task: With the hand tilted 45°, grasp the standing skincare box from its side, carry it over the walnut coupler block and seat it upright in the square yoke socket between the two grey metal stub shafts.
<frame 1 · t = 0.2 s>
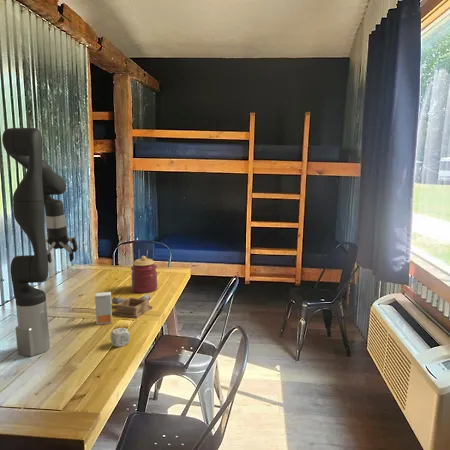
hand: (60, 261, 167), 22 cm above the table, tool pointing down, fingers open, 8 cm apart
coupler block: (132, 311, 170), on the table
skincare box: (104, 322, 158), on the table
die: (120, 344, 139), on the table
canister: (144, 289, 200), on the table
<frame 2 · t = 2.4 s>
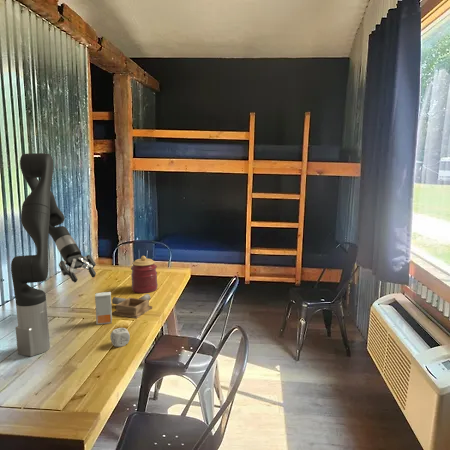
hand: (85, 278, 163), 16 cm above the table, tool tilted 45°, fingers open, 8 cm apart
nothing on the table moved.
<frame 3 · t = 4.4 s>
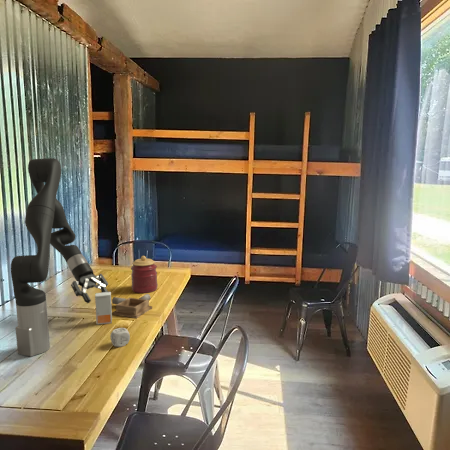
hand: (98, 299, 159), 9 cm above the table, tool tilted 45°, fingers open, 8 cm apart
nothing on the table moved.
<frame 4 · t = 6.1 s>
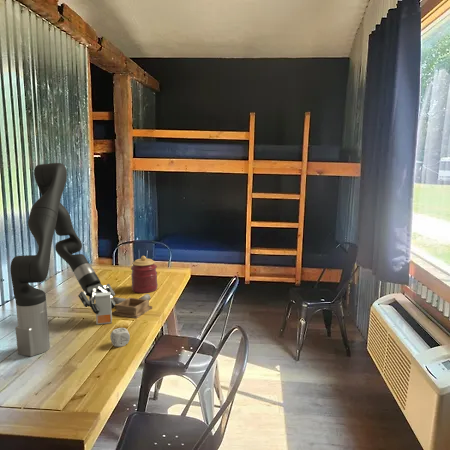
hand: (106, 309, 157), 6 cm above the table, tool tilted 45°, fingers closed on skincare box, 7 cm apart
skincare box: (104, 322, 158), on the table, touching gripper
everything else where it was.
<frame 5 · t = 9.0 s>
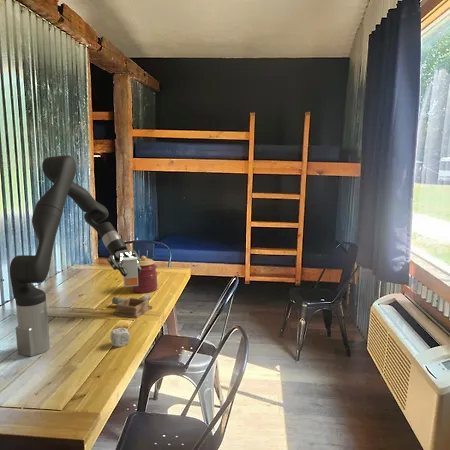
hand: (133, 273, 166), 17 cm above the table, tool tilted 45°, fingers closed on skincare box, 7 cm apart
skincare box: (131, 285, 168), point 12 cm above the table, touching gripper
everything else where it was.
when the fingers open (8 cm above the table, at t = 11.8 s): skincare box drops 1 cm, resting on coupler block.
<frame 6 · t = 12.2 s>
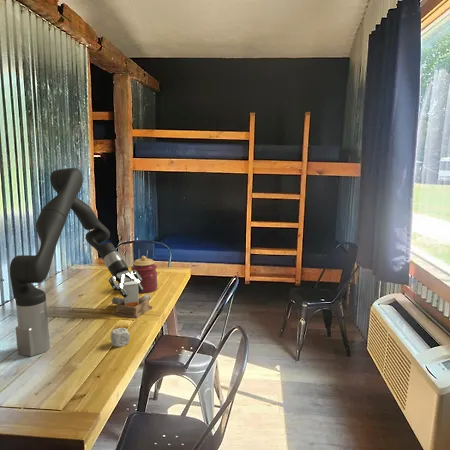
hand: (134, 293, 168), 8 cm above the table, tool tilted 45°, fingers open, 8 cm apart
skincare box: (132, 309, 170), point 1 cm above the table, touching coupler block
everything else where it was.
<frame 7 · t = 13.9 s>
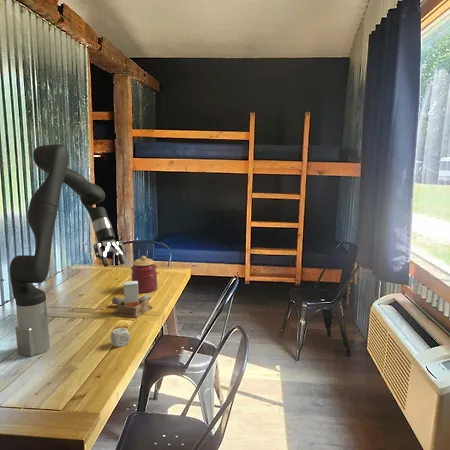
hand: (115, 265, 166), 21 cm above the table, tool tilted 30°, fingers open, 8 cm apart
nothing on the table moved.
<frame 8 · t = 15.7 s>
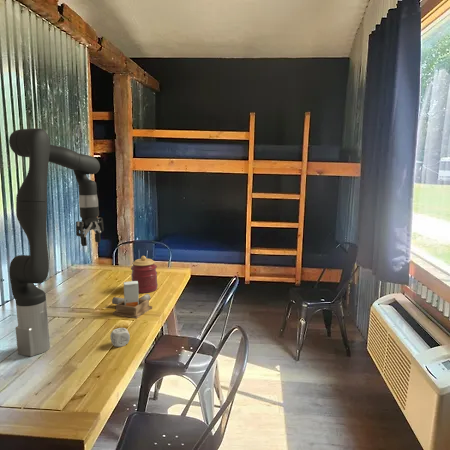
hand: (91, 243, 165), 30 cm above the table, tool pointing down, fingers open, 8 cm apart
nothing on the table moved.
at the end: skincare box inside the target area on the coupler block (0.3 cm from its centre), point 0.8 cm above the coupler block's base; skincare box tilted 0°; the gripper is holding nothing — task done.
